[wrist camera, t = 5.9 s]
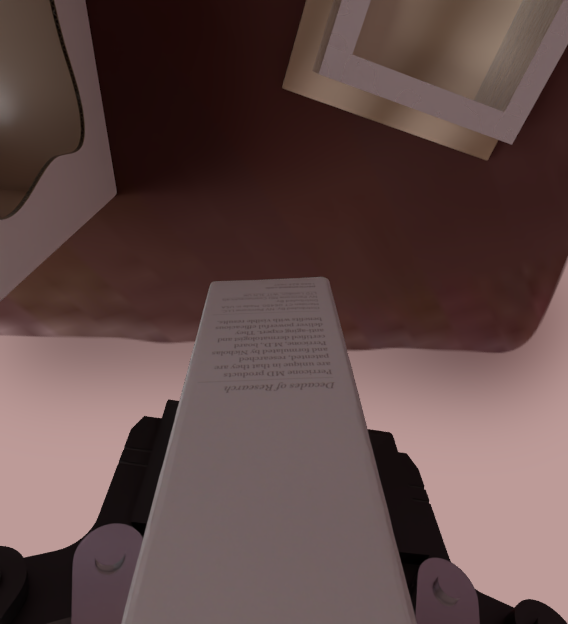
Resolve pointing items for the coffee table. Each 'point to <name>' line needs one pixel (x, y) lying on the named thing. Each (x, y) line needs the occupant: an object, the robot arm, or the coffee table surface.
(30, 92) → the gable box
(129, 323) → the coffee table surface
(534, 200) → the coffee table surface
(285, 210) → the coffee table surface
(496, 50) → the birch board
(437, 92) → the duct collar
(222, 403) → the skincare box
